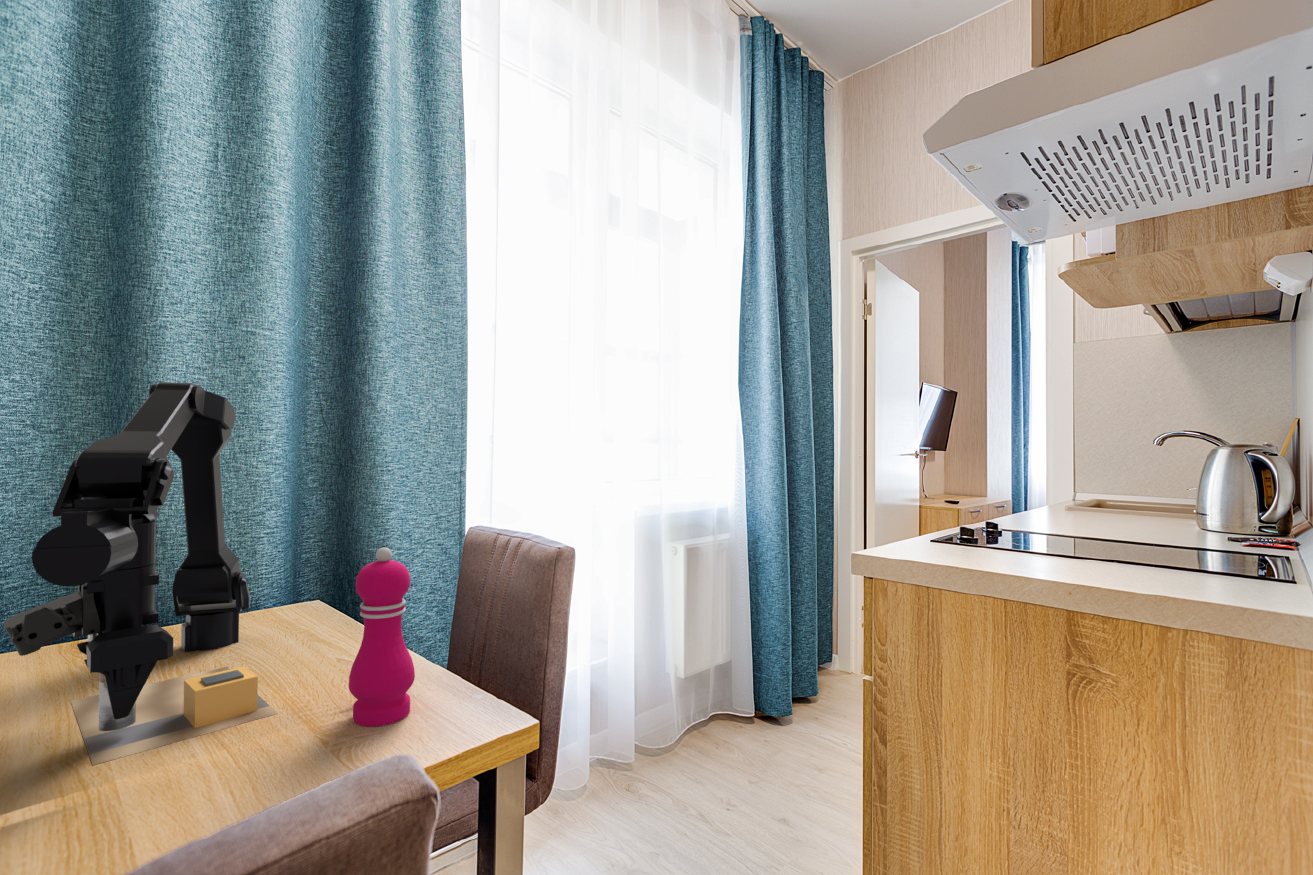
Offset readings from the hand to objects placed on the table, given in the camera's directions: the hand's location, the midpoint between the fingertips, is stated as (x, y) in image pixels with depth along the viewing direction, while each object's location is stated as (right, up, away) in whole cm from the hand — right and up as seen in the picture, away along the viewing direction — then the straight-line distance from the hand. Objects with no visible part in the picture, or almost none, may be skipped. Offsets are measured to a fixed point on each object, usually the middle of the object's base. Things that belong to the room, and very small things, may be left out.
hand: (118, 713), depth 66 cm
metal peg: (0, -1, 0) cm, 1 cm away
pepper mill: (+24, -4, +8) cm, 26 cm away
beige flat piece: (0, -4, +8) cm, 9 cm away
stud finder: (+7, -3, +6) cm, 9 cm away
